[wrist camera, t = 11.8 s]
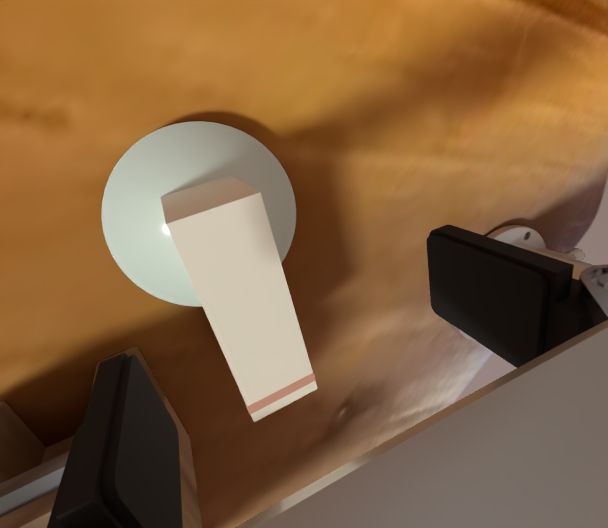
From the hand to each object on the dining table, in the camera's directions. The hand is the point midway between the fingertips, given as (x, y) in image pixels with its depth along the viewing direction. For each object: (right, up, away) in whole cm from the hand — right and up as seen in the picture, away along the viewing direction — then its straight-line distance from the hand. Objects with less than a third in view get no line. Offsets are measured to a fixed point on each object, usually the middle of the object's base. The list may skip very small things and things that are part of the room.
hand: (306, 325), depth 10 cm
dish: (-6, +5, +11) cm, 13 cm away
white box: (-5, +1, +11) cm, 12 cm away
